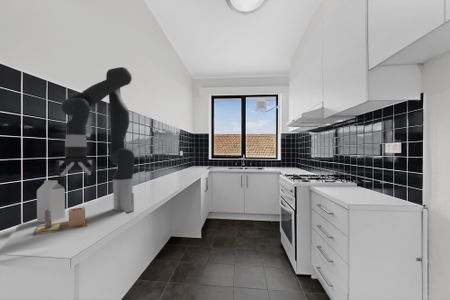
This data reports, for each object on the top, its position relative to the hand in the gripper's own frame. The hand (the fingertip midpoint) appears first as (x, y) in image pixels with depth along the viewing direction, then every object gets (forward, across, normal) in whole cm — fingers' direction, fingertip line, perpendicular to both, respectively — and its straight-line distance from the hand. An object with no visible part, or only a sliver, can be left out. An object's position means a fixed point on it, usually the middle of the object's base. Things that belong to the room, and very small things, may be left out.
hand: (76, 184), depth 93 cm
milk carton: (+18, +9, -15) cm, 25 cm away
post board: (+18, +5, 0) cm, 19 cm away
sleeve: (+16, 0, 0) cm, 16 cm away
